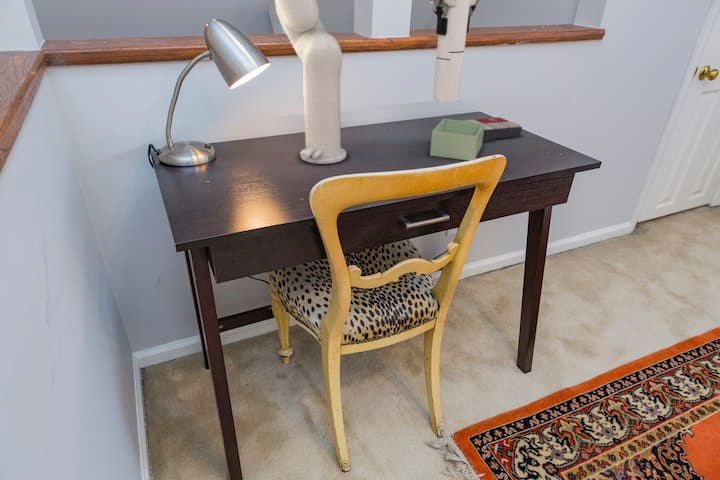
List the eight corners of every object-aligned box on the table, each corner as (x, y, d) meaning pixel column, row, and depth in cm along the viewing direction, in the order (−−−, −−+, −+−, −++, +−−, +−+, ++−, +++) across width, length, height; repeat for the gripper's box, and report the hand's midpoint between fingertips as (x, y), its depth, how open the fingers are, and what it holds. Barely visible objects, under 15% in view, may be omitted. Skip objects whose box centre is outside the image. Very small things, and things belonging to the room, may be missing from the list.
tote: (473, 161, 132) (477, 136, 128) (429, 155, 135) (432, 131, 132) (481, 145, 143) (484, 123, 140) (441, 140, 147) (443, 118, 144)
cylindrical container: (461, 101, 132) (472, -1, 119) (434, 101, 132) (443, -2, 119) (456, 95, 138) (467, -3, 126) (431, 95, 138) (439, -3, 126)
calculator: (523, 124, 150) (484, 127, 144) (520, 138, 152) (482, 142, 146) (499, 116, 159) (462, 118, 152) (497, 129, 161) (460, 132, 154)
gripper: (444, -47, 111) (437, 37, 120) (496, -45, 120) (486, 33, 128) (422, -46, 116) (417, 34, 125) (473, -45, 125) (465, 30, 134)
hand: (452, 33), depth 127 cm, fingers closed on cylindrical container, 7 cm apart
